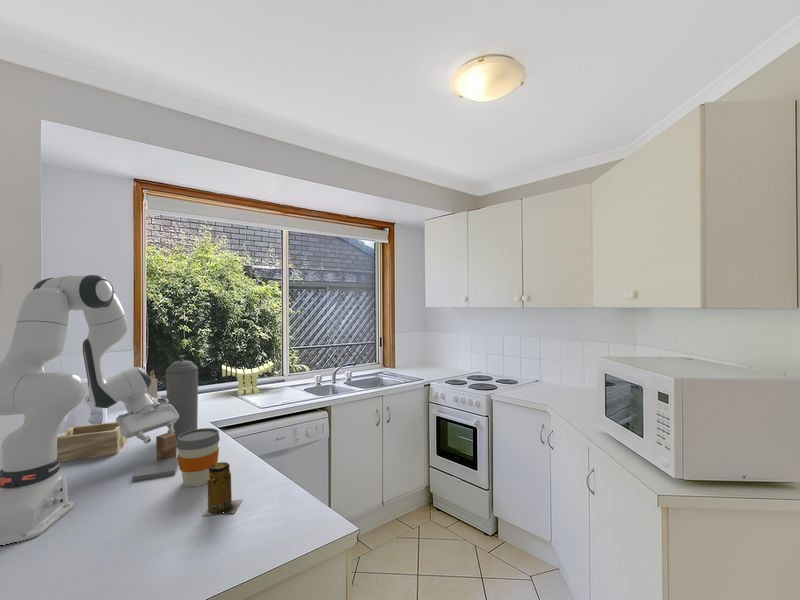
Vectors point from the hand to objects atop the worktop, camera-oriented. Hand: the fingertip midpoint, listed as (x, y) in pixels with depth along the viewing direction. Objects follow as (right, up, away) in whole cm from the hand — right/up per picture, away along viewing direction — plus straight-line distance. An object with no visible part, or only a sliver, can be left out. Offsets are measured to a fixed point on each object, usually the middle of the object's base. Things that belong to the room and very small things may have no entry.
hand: (160, 437), depth 145 cm
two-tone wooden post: (-33, -9, +46) cm, 57 cm away
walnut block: (+3, -8, -1) cm, 8 cm away
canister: (-6, -8, +25) cm, 27 cm away
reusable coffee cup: (+24, -7, -19) cm, 31 cm away
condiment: (+40, -7, -36) cm, 54 cm away
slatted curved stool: (-9, -8, +106) cm, 107 cm away
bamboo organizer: (-31, -8, +8) cm, 33 cm away
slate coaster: (+6, -8, -11) cm, 15 cm away
